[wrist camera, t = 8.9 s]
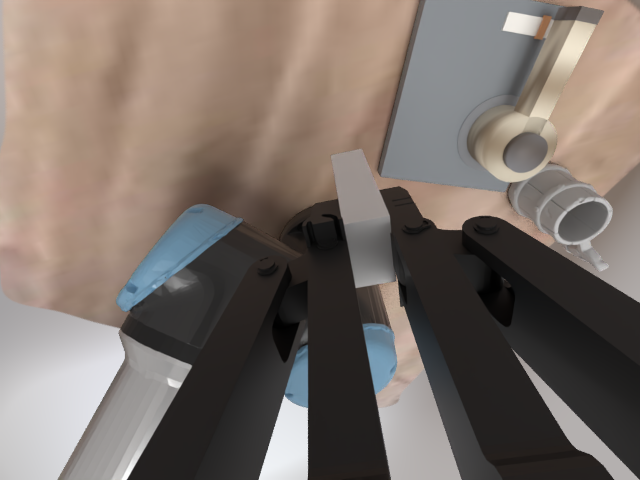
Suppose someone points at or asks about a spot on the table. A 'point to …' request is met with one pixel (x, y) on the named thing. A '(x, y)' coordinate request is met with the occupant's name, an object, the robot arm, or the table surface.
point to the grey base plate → (459, 85)
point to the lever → (533, 104)
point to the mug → (563, 210)
